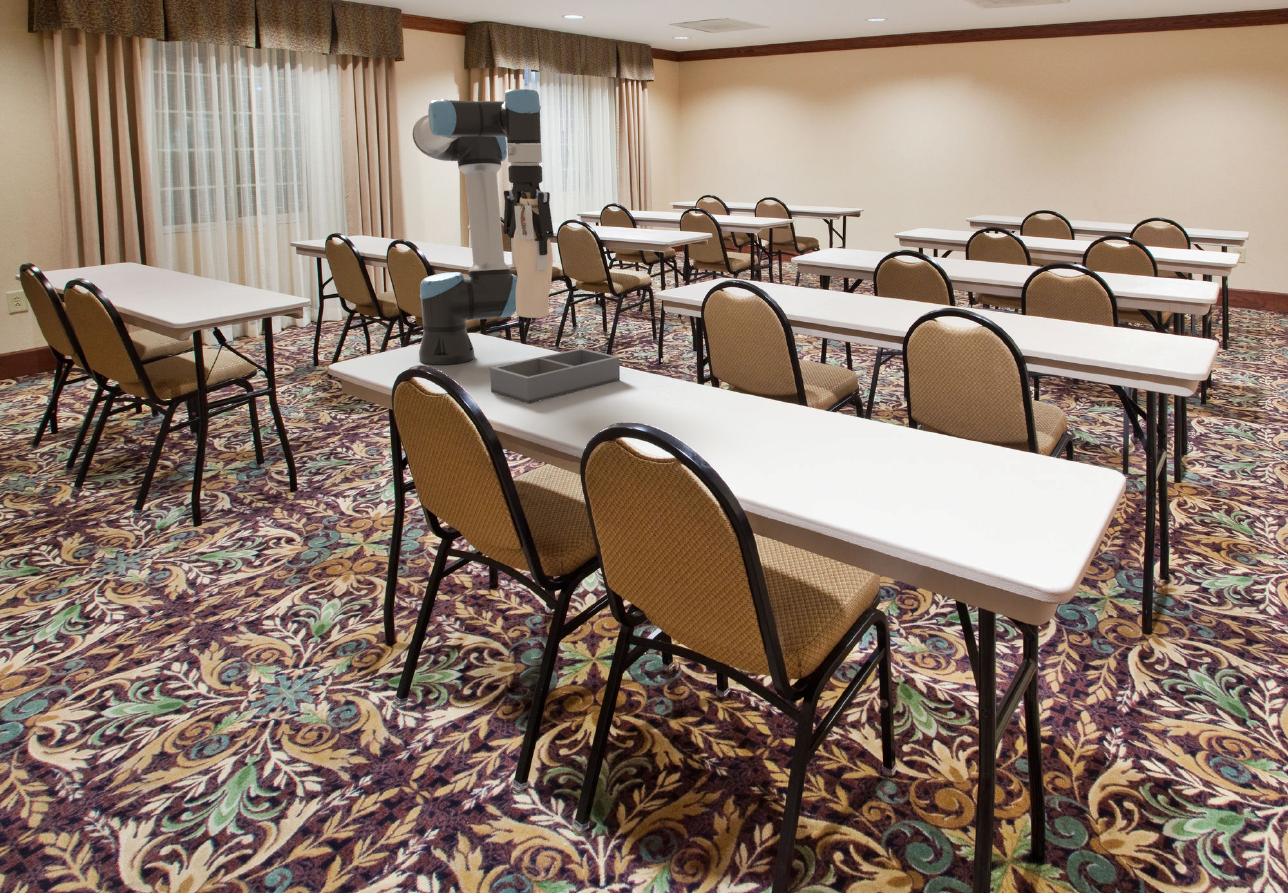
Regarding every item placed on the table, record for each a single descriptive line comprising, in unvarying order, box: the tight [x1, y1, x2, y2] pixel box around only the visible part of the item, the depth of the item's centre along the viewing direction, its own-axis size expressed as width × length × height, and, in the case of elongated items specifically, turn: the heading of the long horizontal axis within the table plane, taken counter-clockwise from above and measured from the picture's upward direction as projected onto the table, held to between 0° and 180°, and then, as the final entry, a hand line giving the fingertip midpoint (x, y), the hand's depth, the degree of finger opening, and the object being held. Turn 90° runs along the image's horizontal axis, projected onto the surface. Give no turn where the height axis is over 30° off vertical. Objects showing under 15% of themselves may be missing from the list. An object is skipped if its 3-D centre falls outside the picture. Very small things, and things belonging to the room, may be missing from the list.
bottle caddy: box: [489, 347, 621, 405], centre depth 210 cm, size 14×30×6 cm, turn 136°
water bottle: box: [513, 190, 554, 319], centre depth 195 cm, size 10×9×28 cm
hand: (529, 267), depth 196 cm, fingers closed on water bottle, 8 cm apart
